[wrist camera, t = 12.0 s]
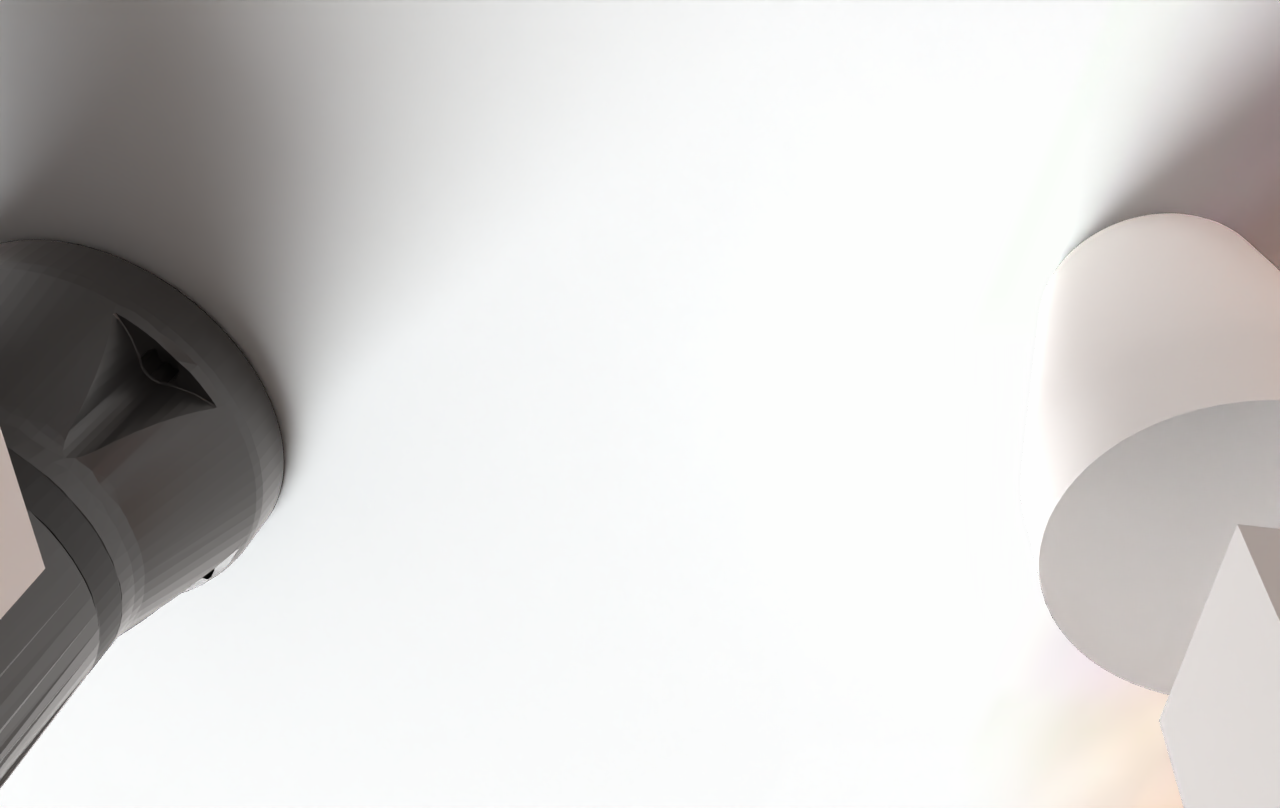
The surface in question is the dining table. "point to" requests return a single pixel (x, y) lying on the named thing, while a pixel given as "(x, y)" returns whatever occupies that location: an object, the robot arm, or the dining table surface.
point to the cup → (1150, 433)
